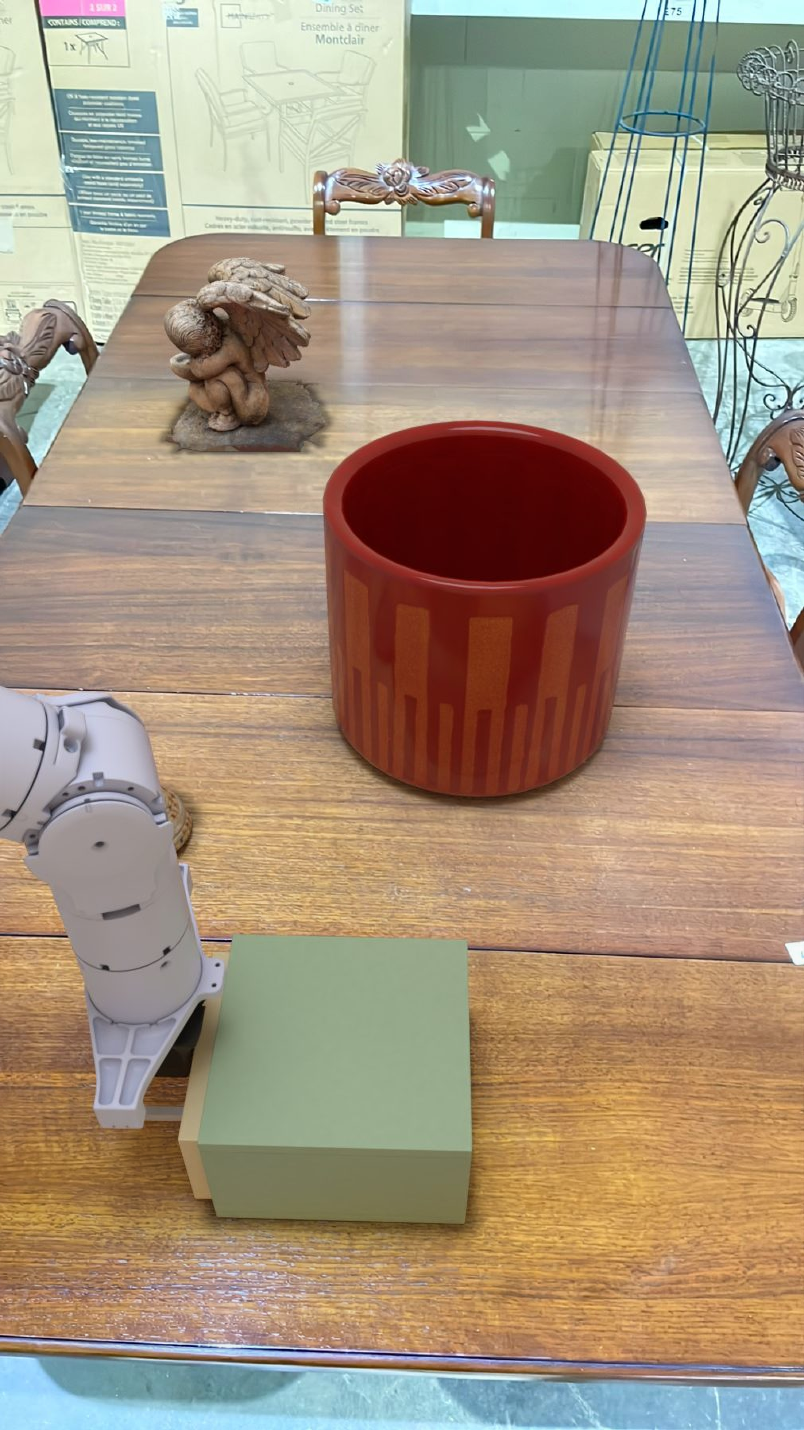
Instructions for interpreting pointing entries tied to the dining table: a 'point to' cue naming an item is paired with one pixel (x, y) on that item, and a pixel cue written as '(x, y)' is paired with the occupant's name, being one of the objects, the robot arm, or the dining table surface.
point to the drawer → (195, 1097)
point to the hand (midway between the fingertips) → (172, 1066)
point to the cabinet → (341, 1081)
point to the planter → (478, 602)
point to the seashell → (177, 817)
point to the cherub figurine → (242, 361)
